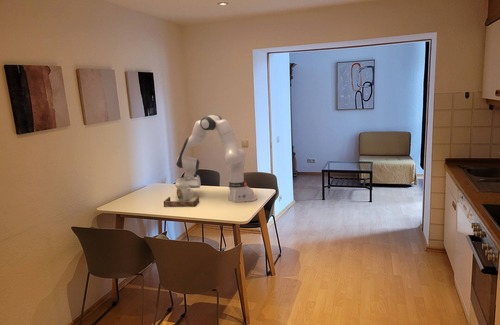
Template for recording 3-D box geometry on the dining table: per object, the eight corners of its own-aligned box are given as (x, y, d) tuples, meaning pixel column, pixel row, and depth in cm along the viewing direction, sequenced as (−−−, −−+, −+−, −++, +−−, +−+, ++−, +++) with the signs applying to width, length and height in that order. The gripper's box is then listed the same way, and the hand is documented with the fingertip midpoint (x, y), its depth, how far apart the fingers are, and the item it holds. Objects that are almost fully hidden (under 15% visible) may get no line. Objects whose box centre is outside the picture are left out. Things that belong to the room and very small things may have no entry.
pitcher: (189, 204, 290) (187, 186, 288) (171, 201, 300) (170, 184, 297) (198, 200, 299) (197, 183, 297) (181, 197, 309) (180, 181, 306)
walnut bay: (199, 201, 296) (199, 196, 295) (195, 206, 283) (194, 201, 282) (169, 201, 299) (168, 196, 298) (163, 206, 286) (163, 201, 285)
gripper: (176, 175, 311) (173, 190, 304) (200, 175, 309) (198, 190, 301) (178, 179, 316) (175, 194, 309) (202, 179, 314) (199, 194, 306)
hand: (186, 192), depth 305 cm, fingers closed
